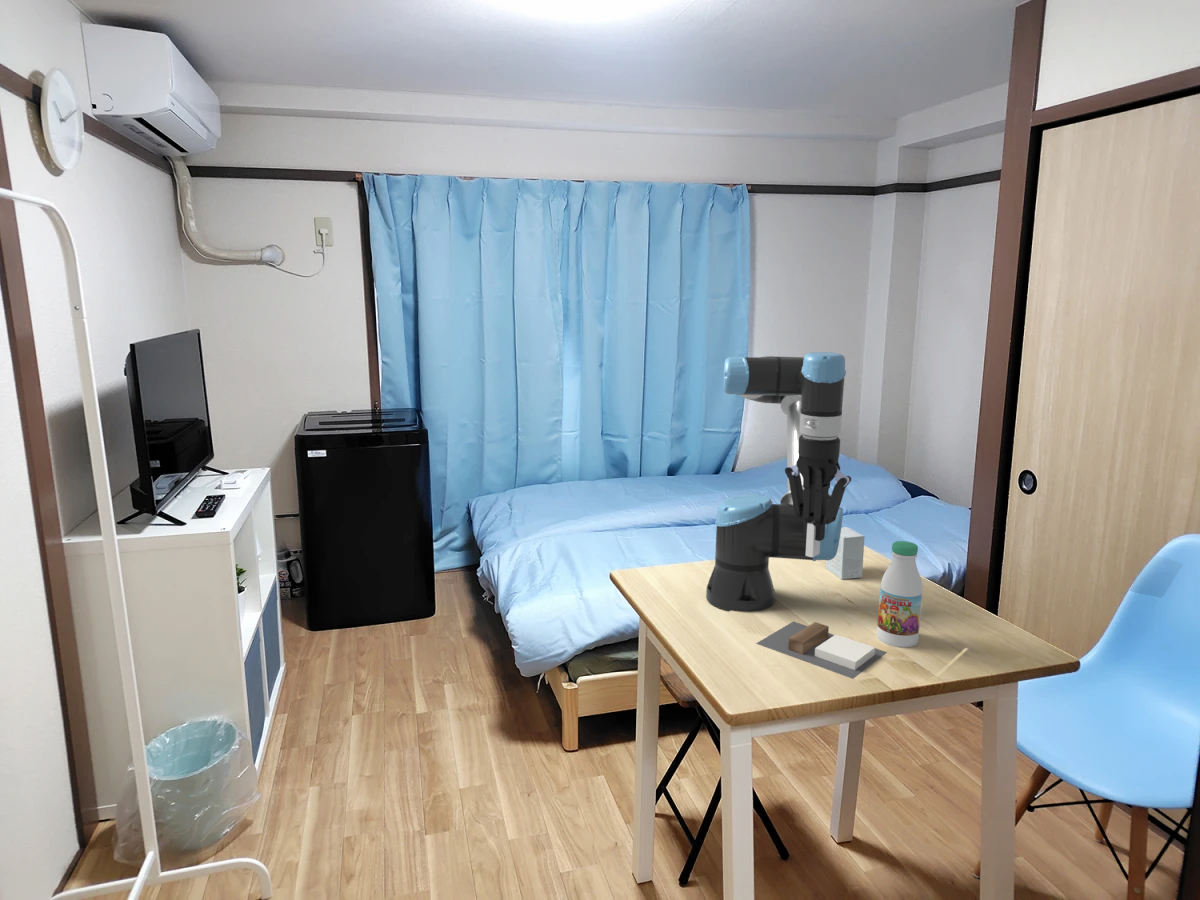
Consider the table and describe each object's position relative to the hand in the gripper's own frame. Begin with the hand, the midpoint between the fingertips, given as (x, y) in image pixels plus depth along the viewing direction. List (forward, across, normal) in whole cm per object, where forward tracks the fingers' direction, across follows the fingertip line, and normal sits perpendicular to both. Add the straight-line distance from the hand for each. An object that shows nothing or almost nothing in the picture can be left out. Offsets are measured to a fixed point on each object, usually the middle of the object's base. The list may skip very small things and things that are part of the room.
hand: (812, 554), depth 151 cm
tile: (+16, +5, -3) cm, 17 cm away
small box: (+18, -12, +38) cm, 44 cm away
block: (+17, +2, -3) cm, 17 cm away
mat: (+17, +5, -3) cm, 18 cm away
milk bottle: (+18, +13, +11) cm, 25 cm away
